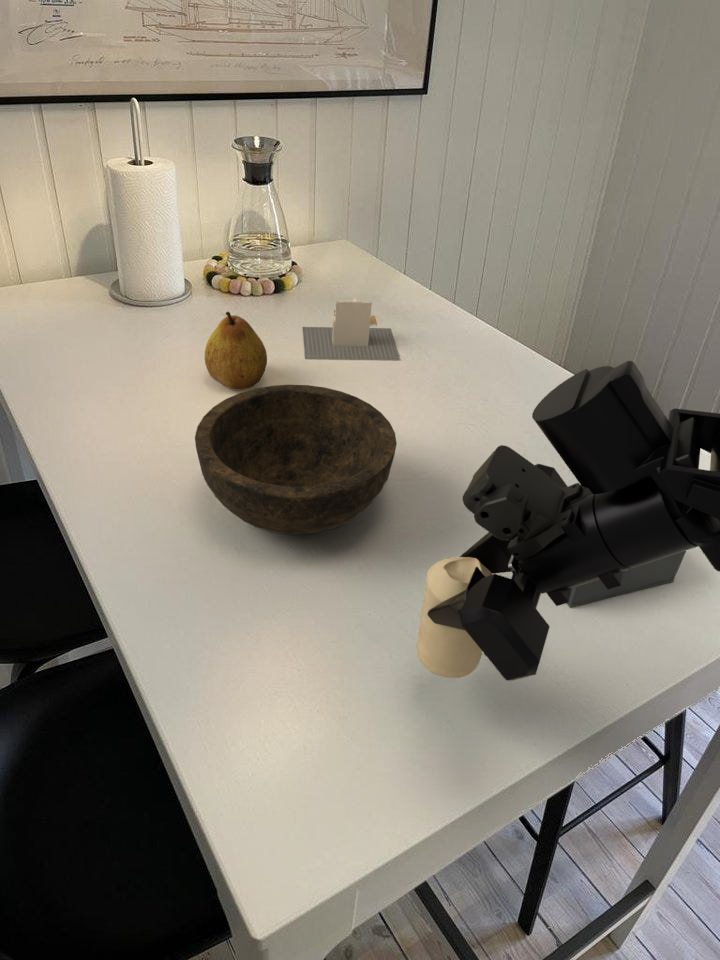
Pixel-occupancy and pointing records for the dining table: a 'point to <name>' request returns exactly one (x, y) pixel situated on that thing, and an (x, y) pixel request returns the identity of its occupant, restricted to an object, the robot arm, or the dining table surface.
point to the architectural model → (350, 336)
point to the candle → (442, 644)
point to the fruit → (235, 354)
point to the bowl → (295, 456)
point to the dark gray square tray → (629, 581)
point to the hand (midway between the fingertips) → (442, 593)
